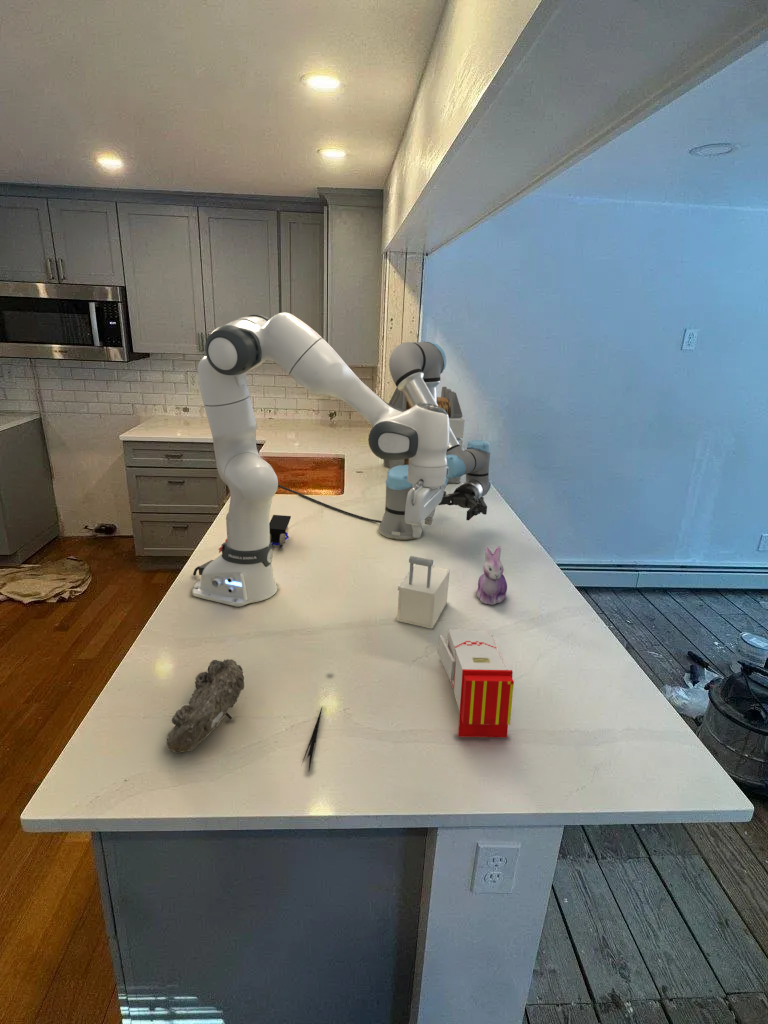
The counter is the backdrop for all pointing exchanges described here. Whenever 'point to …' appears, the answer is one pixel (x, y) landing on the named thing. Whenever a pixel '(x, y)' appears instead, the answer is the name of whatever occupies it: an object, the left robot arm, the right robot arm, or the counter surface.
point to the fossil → (206, 705)
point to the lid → (423, 578)
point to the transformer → (445, 401)
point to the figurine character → (279, 529)
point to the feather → (313, 740)
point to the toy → (478, 682)
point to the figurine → (492, 579)
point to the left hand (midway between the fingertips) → (422, 530)
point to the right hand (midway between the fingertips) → (445, 512)
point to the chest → (422, 607)
